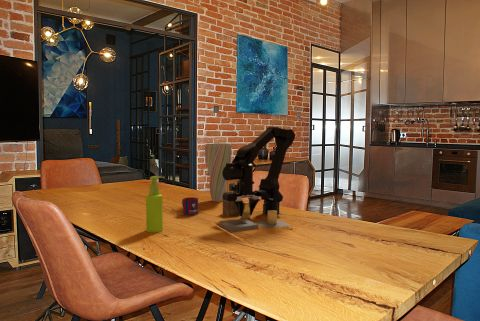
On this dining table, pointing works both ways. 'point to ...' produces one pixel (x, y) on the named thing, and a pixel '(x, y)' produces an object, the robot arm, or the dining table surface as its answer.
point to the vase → (217, 168)
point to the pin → (246, 210)
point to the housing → (230, 208)
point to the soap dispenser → (154, 208)
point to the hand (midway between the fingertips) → (245, 215)
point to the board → (279, 224)
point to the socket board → (238, 225)
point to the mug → (190, 206)
